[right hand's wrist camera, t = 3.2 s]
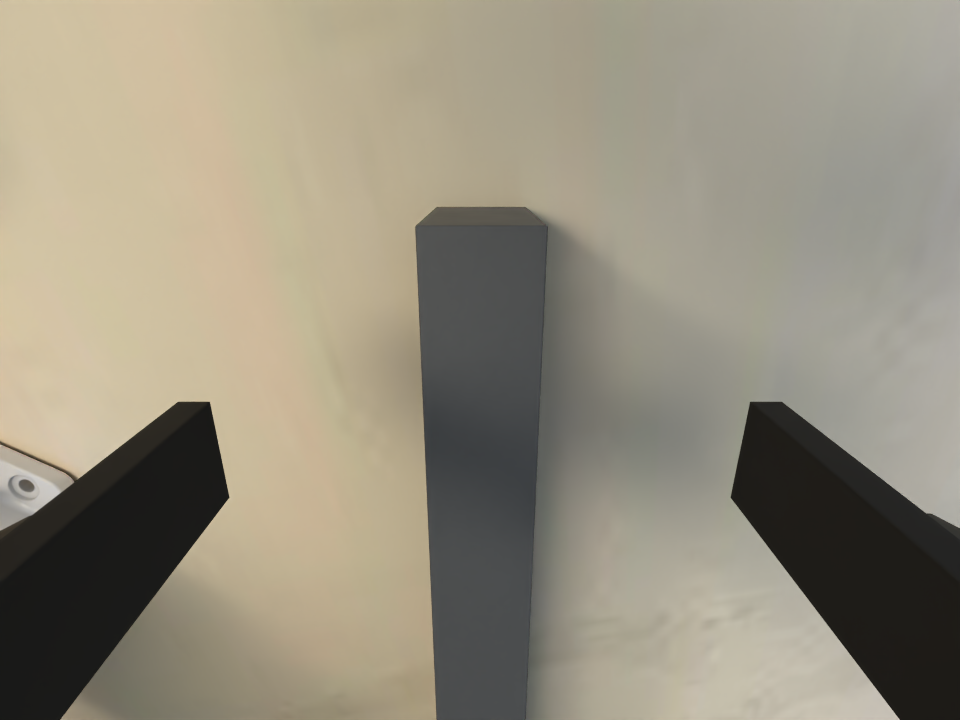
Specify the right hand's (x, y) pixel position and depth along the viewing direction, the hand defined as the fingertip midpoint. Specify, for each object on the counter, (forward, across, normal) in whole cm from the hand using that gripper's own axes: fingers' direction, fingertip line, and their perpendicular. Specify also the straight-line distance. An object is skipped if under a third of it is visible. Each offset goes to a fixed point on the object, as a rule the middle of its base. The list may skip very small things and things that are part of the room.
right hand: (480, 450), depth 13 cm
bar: (+15, 0, -23) cm, 27 cm away
